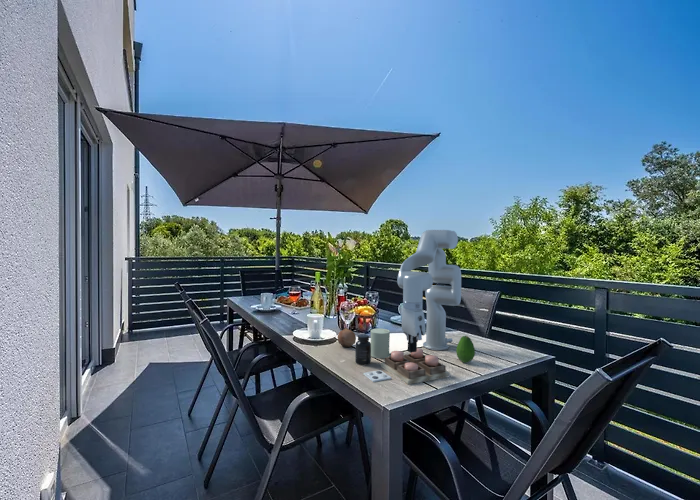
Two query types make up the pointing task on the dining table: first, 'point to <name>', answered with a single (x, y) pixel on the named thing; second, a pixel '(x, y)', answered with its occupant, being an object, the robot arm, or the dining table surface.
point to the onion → (346, 338)
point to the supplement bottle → (363, 350)
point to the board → (415, 376)
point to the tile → (377, 375)
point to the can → (380, 343)
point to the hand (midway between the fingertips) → (412, 351)
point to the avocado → (465, 349)
